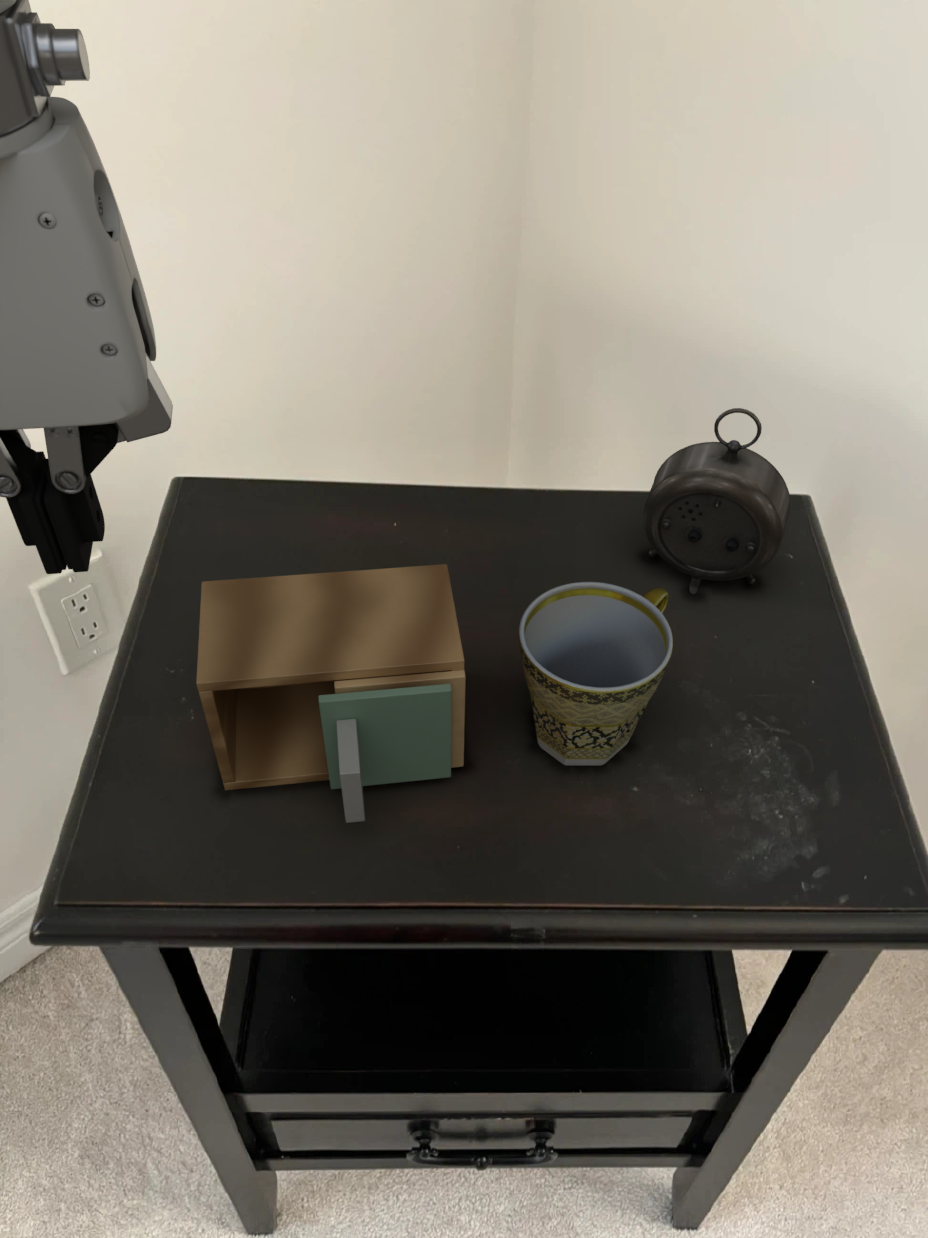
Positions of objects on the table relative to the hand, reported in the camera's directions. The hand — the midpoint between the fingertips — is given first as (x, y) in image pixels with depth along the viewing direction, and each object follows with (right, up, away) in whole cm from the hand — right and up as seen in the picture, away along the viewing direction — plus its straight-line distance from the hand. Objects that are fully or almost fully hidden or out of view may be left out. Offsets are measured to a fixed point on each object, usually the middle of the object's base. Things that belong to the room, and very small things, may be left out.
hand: (72, 550), depth 44 cm
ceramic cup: (+25, -8, +31) cm, 40 cm away
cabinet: (+7, -9, +29) cm, 31 cm away
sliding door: (+11, -14, +24) cm, 29 cm away
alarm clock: (+34, +3, +42) cm, 54 cm away
